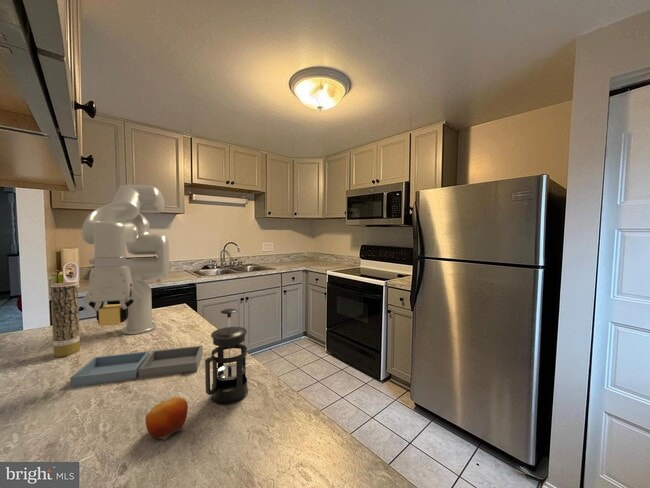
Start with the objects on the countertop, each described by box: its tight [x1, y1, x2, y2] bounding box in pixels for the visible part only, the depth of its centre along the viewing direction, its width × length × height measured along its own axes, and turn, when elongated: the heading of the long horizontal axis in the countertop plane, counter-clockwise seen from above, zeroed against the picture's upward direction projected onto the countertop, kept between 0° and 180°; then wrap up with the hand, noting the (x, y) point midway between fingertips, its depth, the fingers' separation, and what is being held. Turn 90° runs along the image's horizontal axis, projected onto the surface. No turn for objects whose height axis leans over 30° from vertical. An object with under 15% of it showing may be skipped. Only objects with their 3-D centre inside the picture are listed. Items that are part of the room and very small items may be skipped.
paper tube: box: [50, 281, 81, 358], centre depth 97 cm, size 7×7×25 cm
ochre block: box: [98, 303, 123, 327], centre depth 84 cm, size 5×5×5 cm
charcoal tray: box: [138, 345, 203, 379], centre depth 89 cm, size 13×16×3 cm
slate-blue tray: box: [69, 350, 151, 388], centre depth 84 cm, size 13×16×3 cm
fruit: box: [145, 396, 189, 441], centre depth 60 cm, size 8×8×8 cm
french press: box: [204, 308, 249, 406], centre depth 73 cm, size 12×9×23 cm
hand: (113, 321), depth 84 cm, fingers closed on ochre block, 5 cm apart
